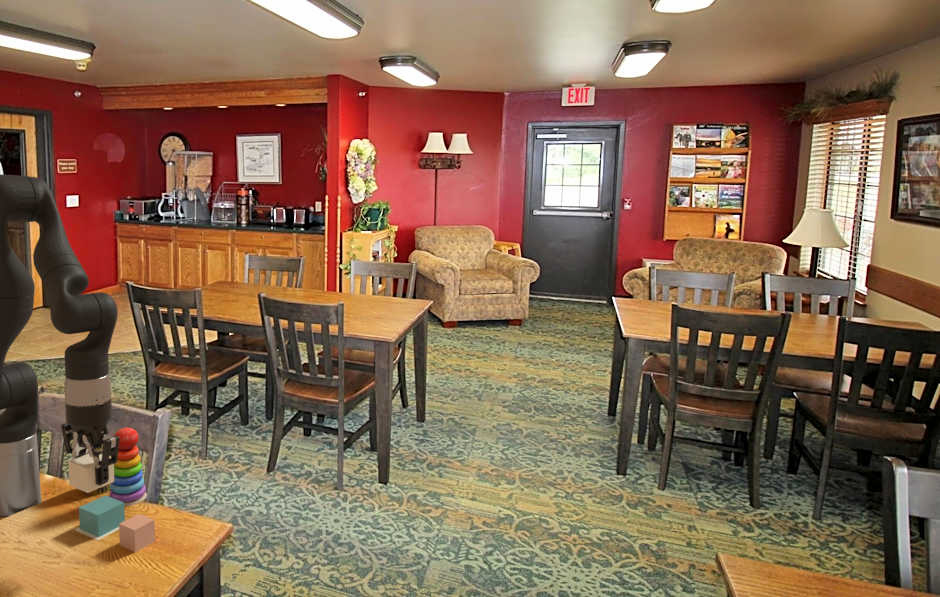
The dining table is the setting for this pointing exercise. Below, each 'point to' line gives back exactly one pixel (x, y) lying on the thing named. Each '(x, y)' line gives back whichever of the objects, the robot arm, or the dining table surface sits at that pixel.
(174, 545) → the dining table surface
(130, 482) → the stacking toy
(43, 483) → the dining table surface
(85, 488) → the cream brick
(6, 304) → the robot arm
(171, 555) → the dining table surface
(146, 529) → the pink cube
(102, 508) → the teal base brick
